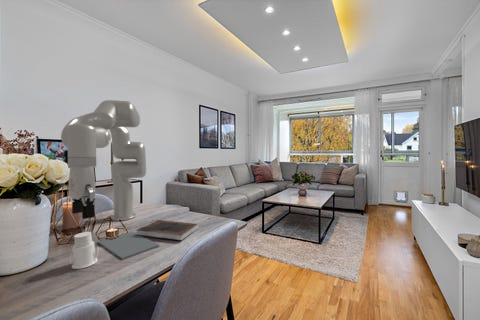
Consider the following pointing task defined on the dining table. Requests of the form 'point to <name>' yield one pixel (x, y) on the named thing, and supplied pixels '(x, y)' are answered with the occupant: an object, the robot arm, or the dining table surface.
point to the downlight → (83, 251)
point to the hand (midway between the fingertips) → (83, 215)
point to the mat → (128, 245)
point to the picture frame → (167, 229)
